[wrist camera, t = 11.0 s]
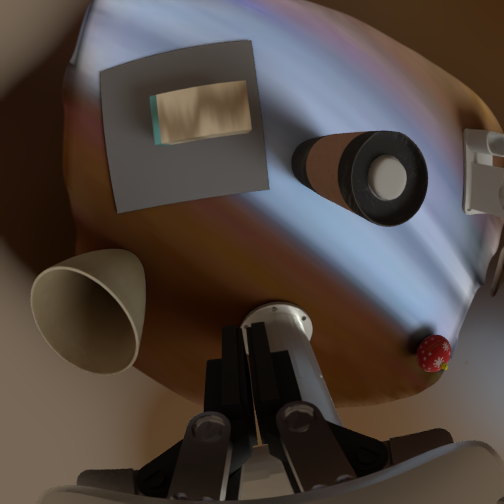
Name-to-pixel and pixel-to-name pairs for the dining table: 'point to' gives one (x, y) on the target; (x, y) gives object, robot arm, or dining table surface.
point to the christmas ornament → (433, 353)
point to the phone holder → (483, 172)
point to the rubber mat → (188, 153)
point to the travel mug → (365, 173)
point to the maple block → (200, 113)
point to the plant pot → (92, 309)
